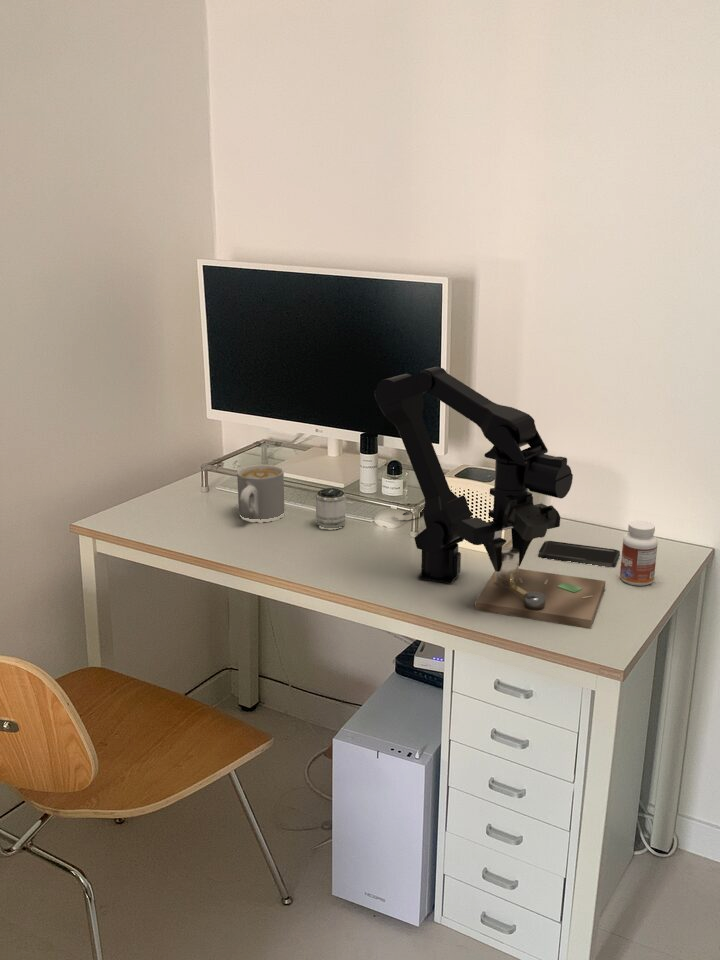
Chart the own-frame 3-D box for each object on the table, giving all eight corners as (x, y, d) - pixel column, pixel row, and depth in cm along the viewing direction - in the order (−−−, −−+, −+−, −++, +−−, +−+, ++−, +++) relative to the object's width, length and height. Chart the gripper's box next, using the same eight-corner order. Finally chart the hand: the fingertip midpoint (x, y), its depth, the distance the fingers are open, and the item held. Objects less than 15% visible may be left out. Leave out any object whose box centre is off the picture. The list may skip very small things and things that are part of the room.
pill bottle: (614, 573, 193) (619, 518, 189) (646, 572, 193) (651, 517, 190) (626, 587, 187) (631, 531, 183) (658, 586, 188) (664, 529, 184)
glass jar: (311, 528, 215) (310, 493, 213) (323, 518, 221) (323, 484, 218) (338, 532, 213) (338, 497, 211) (350, 522, 219) (350, 488, 216)
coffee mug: (257, 504, 230) (256, 462, 227) (293, 512, 225) (292, 469, 222) (219, 522, 219) (217, 478, 216) (256, 531, 214) (254, 486, 211)
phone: (545, 540, 207) (620, 550, 202) (544, 545, 207) (620, 555, 202) (537, 554, 200) (615, 564, 195) (537, 559, 200) (614, 570, 195)
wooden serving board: (474, 609, 178) (475, 601, 178) (497, 573, 193) (498, 564, 193) (590, 628, 171) (591, 619, 171) (604, 588, 187) (605, 580, 186)
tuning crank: (550, 606, 175) (552, 568, 173) (531, 611, 174) (534, 572, 171) (503, 578, 186) (505, 542, 184) (485, 582, 185) (487, 546, 182)
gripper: (495, 508, 166) (491, 596, 171) (583, 490, 174) (577, 574, 179) (456, 489, 175) (453, 573, 180) (542, 472, 183) (537, 552, 188)
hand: (507, 568), depth 181 cm, fingers closed on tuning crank, 4 cm apart
